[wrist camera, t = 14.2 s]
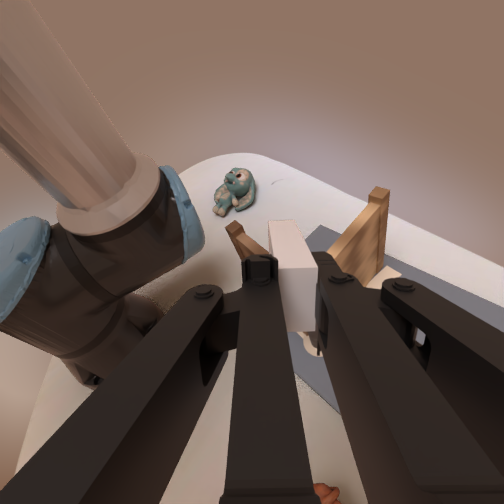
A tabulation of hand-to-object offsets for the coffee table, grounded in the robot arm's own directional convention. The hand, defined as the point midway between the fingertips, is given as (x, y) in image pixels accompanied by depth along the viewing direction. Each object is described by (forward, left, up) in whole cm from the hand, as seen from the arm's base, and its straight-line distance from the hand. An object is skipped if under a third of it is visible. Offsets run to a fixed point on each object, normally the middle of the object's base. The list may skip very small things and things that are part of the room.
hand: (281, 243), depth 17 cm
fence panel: (-4, +11, -24) cm, 27 cm away
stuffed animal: (-37, +17, -26) cm, 48 cm away
